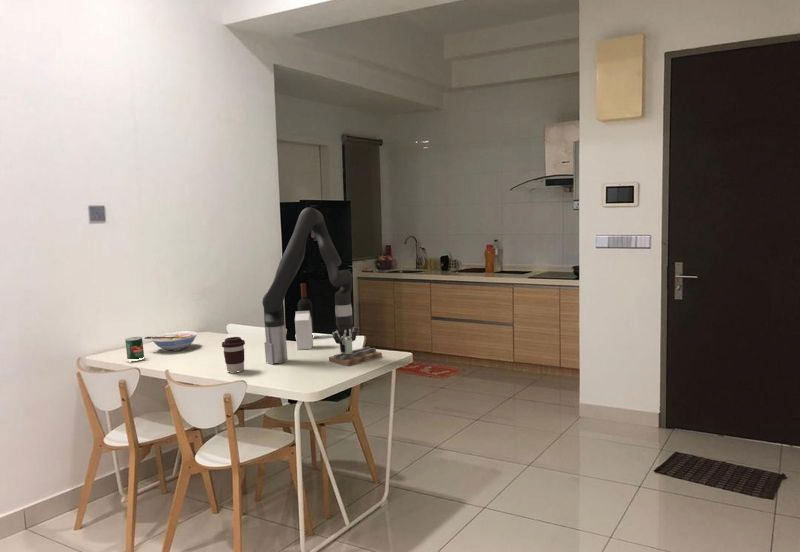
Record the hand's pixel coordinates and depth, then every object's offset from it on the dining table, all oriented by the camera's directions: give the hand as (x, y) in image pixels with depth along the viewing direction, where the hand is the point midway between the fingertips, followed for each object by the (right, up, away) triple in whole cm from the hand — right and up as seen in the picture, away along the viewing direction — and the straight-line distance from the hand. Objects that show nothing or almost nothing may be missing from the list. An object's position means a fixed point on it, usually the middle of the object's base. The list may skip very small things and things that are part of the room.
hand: (346, 351), depth 288 cm
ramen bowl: (-94, -5, +47) cm, 106 cm away
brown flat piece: (+4, -4, +4) cm, 7 cm away
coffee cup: (-49, -8, -6) cm, 50 cm away
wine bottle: (-26, 0, +56) cm, 62 cm away
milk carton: (-24, -2, +33) cm, 40 cm away
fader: (0, -2, 0) cm, 2 cm away
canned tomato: (-107, -8, +27) cm, 111 cm away
